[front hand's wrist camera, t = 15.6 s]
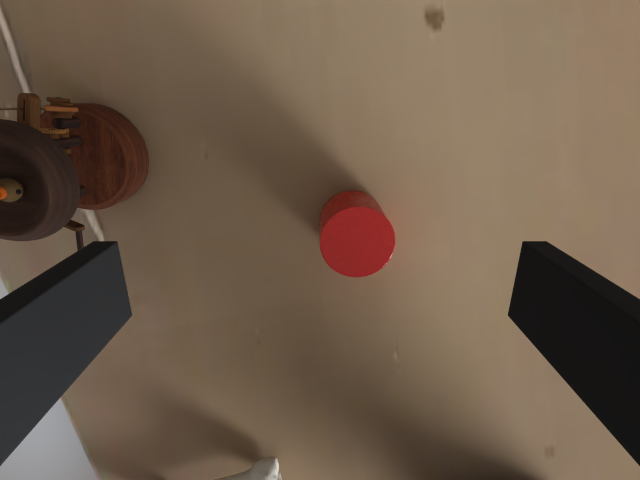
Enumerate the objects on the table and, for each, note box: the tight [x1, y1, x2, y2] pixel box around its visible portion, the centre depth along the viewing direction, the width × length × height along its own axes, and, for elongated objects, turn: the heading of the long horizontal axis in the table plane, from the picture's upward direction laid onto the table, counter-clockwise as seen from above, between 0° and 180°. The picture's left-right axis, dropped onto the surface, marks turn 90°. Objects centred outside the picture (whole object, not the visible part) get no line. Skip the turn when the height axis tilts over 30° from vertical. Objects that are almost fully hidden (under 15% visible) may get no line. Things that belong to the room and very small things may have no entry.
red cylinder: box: [320, 191, 395, 277], centre depth 40 cm, size 7×7×7 cm
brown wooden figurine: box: [0, 93, 148, 251], centre depth 32 cm, size 15×11×20 cm
